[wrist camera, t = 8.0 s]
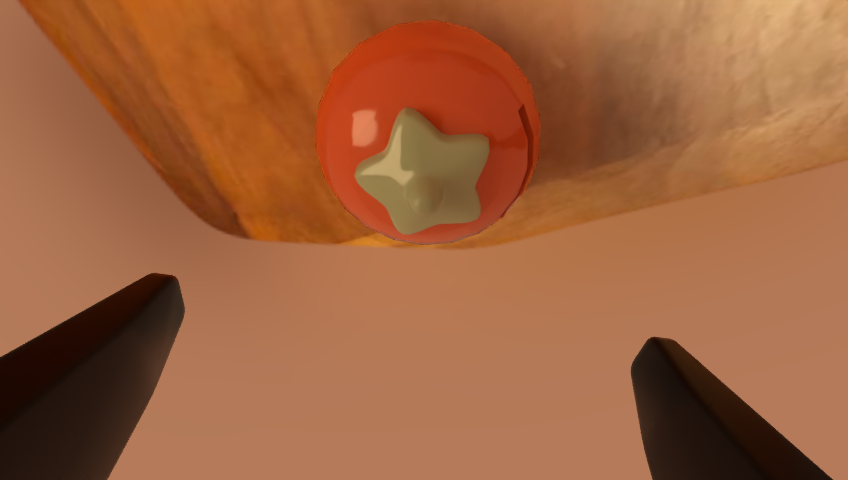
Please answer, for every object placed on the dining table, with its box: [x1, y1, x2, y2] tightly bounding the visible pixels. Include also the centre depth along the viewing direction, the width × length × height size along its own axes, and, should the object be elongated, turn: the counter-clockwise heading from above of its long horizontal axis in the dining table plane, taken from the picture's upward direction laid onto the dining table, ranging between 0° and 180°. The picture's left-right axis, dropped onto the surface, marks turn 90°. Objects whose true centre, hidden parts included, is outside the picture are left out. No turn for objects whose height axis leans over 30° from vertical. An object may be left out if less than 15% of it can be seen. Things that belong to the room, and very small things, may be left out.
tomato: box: [315, 20, 540, 245], centre depth 15 cm, size 7×7×8 cm
